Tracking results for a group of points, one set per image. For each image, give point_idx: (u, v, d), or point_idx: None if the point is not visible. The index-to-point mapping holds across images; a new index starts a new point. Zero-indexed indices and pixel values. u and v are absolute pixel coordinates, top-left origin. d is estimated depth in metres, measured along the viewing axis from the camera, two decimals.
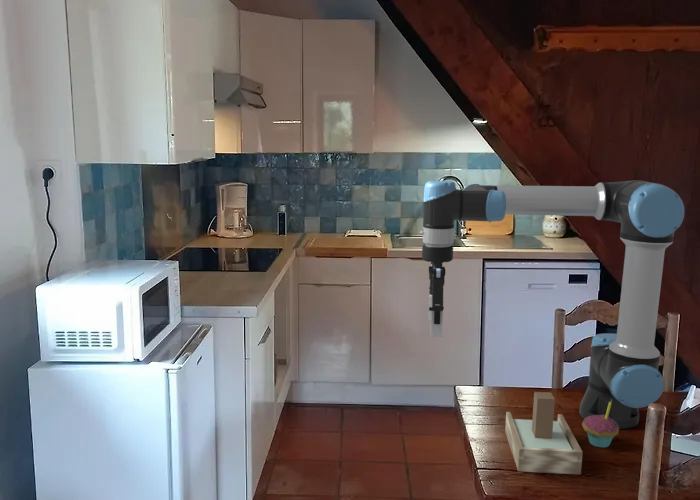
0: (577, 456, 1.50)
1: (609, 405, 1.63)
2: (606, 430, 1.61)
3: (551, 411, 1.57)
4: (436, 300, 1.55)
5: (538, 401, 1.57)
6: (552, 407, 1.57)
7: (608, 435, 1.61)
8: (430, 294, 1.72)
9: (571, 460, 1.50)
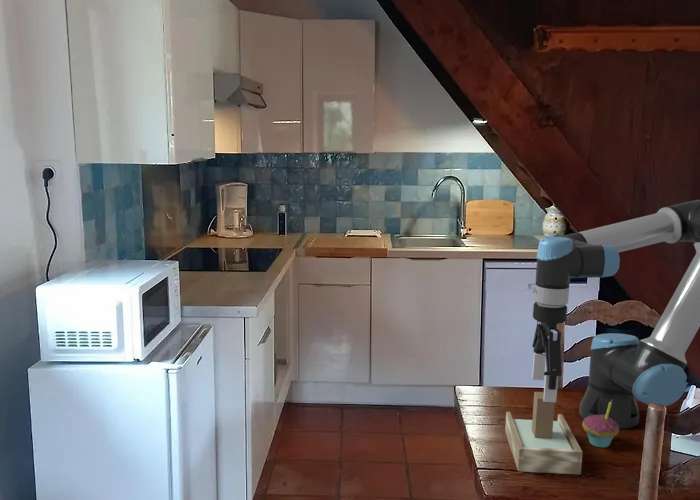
0: (577, 456, 1.50)
1: (609, 405, 1.63)
2: (606, 430, 1.61)
3: (551, 411, 1.57)
4: (553, 365, 1.47)
5: (538, 401, 1.57)
6: (552, 407, 1.57)
7: (608, 435, 1.61)
8: (535, 352, 1.64)
9: (571, 460, 1.50)
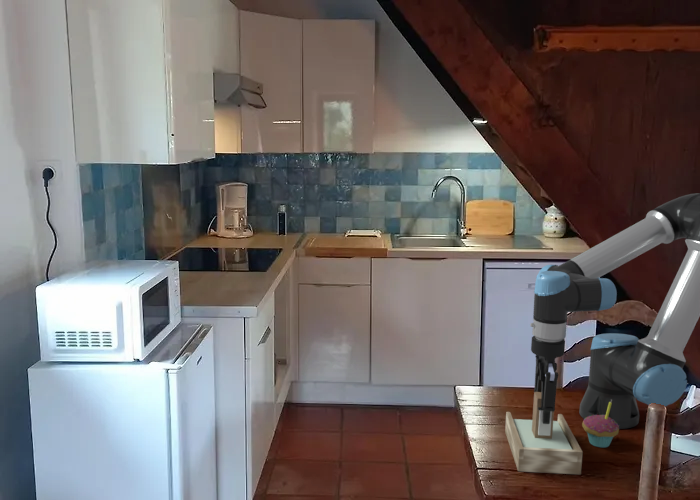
0: (577, 456, 1.50)
1: (609, 405, 1.63)
2: (606, 430, 1.61)
3: None
4: (548, 403, 1.53)
5: (538, 401, 1.57)
6: None
7: (608, 435, 1.61)
8: None
9: (571, 460, 1.50)
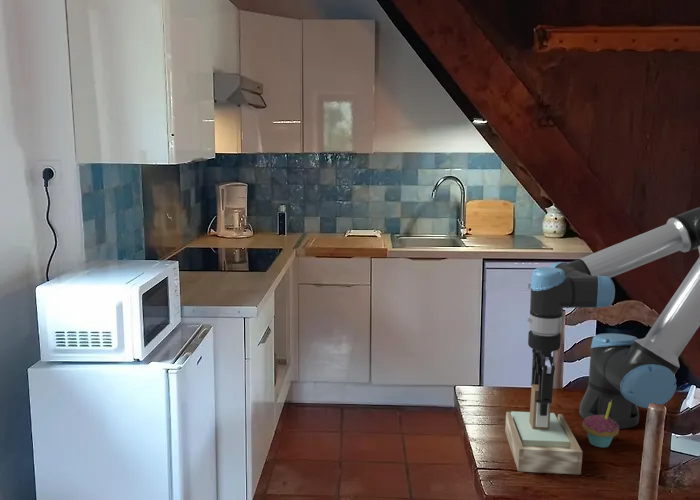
0: (577, 456, 1.50)
1: (609, 405, 1.63)
2: (606, 430, 1.61)
3: None
4: (545, 395, 1.57)
5: (536, 393, 1.61)
6: None
7: (608, 435, 1.61)
8: None
9: (571, 460, 1.50)
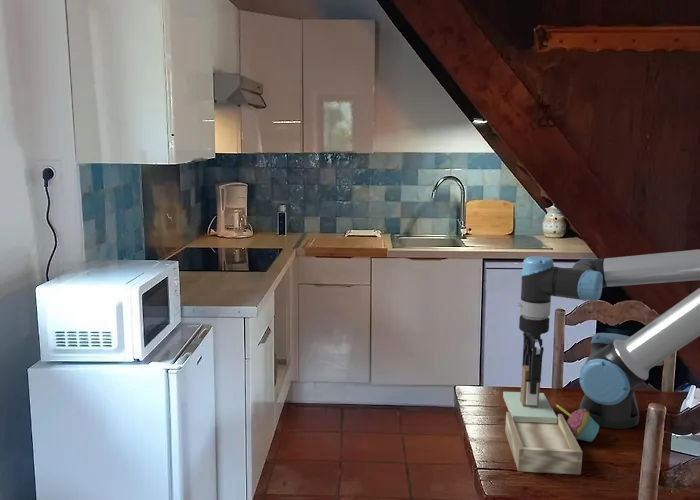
0: (577, 456, 1.50)
1: (559, 407, 1.67)
2: (576, 426, 1.63)
3: None
4: (534, 375, 1.70)
5: (526, 373, 1.73)
6: None
7: (582, 427, 1.63)
8: None
9: (571, 460, 1.50)
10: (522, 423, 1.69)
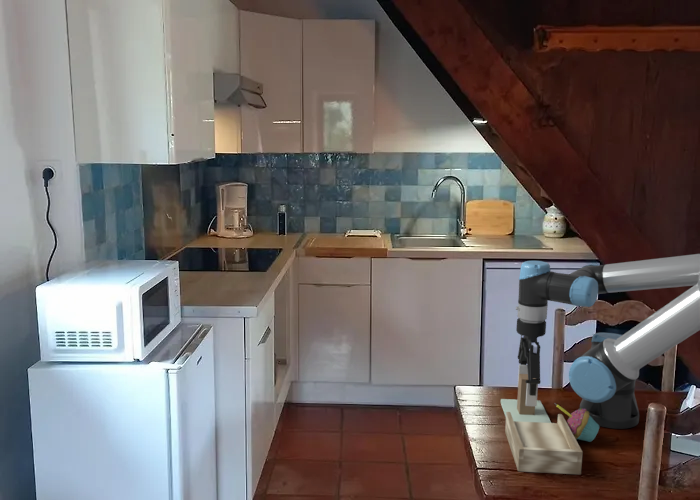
0: (577, 456, 1.50)
1: (559, 407, 1.67)
2: (576, 426, 1.63)
3: None
4: (533, 374, 1.70)
5: (522, 381, 1.77)
6: None
7: (582, 427, 1.63)
8: (519, 363, 1.86)
9: (571, 460, 1.50)
10: (522, 423, 1.69)
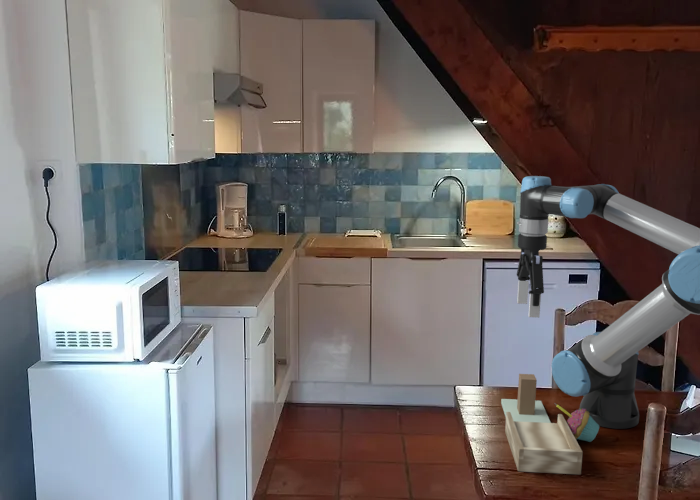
0: (577, 456, 1.50)
1: (559, 408, 1.67)
2: (576, 426, 1.63)
3: (533, 390, 1.78)
4: (537, 284, 1.72)
5: (522, 381, 1.77)
6: (534, 387, 1.77)
7: (582, 427, 1.63)
8: None
9: (571, 460, 1.50)
10: (522, 423, 1.69)
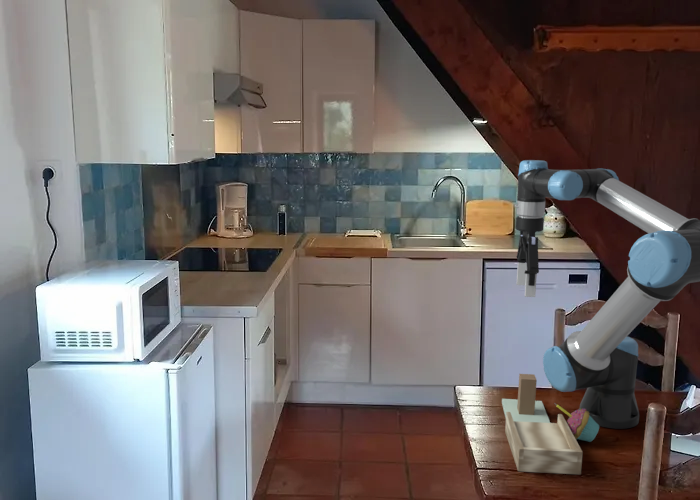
0: (577, 456, 1.50)
1: (559, 408, 1.67)
2: (576, 426, 1.63)
3: (533, 390, 1.77)
4: (532, 264, 1.78)
5: (522, 381, 1.77)
6: (534, 387, 1.77)
7: (582, 427, 1.63)
8: None
9: (571, 460, 1.50)
10: (522, 423, 1.69)
